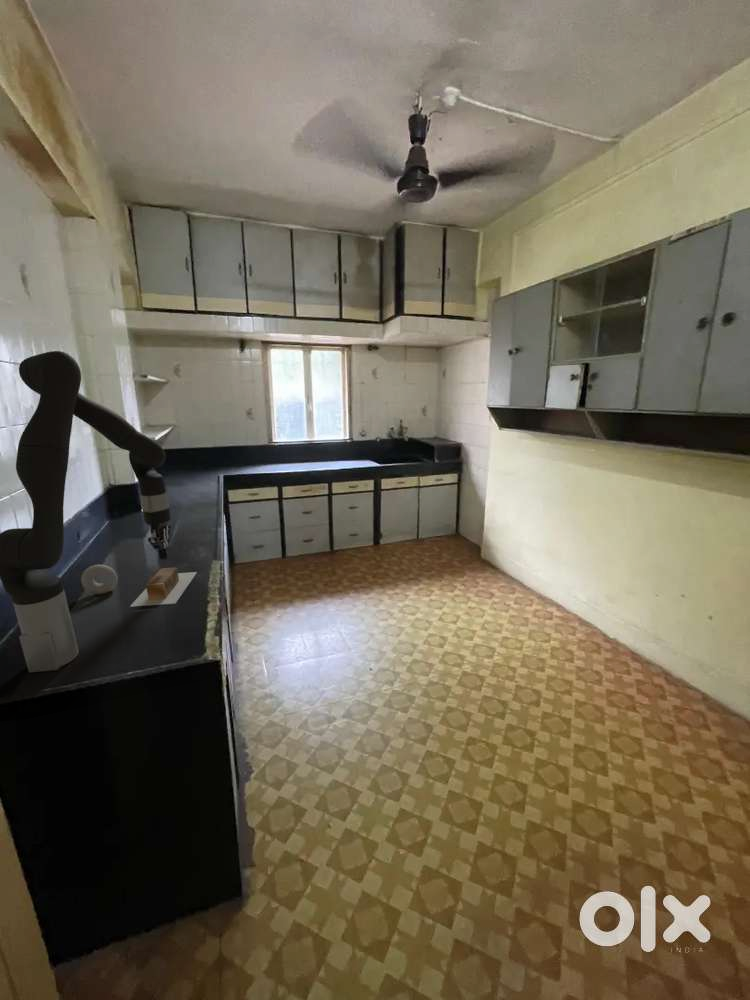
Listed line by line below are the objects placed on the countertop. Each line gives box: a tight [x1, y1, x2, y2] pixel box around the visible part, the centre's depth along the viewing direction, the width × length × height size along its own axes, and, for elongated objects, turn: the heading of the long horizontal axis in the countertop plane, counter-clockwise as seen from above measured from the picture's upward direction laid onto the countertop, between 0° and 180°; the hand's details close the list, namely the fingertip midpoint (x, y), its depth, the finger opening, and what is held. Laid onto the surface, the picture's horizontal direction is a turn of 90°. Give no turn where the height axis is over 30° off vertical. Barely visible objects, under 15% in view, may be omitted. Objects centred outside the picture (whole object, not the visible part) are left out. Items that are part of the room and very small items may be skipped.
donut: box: [80, 564, 119, 595], centre depth 128 cm, size 10×3×10 cm, turn 105°
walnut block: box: [145, 567, 179, 600], centre depth 130 cm, size 5×5×12 cm
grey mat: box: [129, 571, 198, 608], centre depth 132 cm, size 22×13×1 cm, turn 7°
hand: (164, 558), depth 131 cm, fingers closed
